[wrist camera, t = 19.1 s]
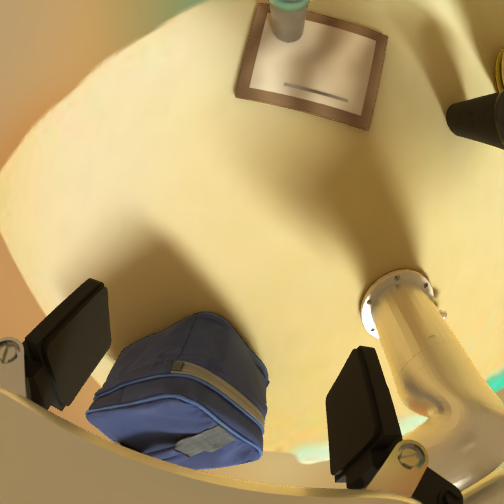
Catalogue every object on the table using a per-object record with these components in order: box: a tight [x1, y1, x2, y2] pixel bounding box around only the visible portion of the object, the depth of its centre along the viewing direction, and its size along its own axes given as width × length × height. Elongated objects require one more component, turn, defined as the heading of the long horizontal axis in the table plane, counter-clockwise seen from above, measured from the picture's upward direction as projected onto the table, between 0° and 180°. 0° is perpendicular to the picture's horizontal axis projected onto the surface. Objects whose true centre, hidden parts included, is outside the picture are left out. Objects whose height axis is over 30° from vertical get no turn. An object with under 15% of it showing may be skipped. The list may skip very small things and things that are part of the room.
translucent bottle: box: [269, 0, 309, 43], centre depth 23 cm, size 4×4×13 cm
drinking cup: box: [446, 89, 504, 149], centre depth 21 cm, size 8×8×20 cm
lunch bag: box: [86, 312, 269, 470], centre depth 43 cm, size 31×21×20 cm
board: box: [235, 3, 388, 131], centre depth 30 cm, size 17×14×2 cm
